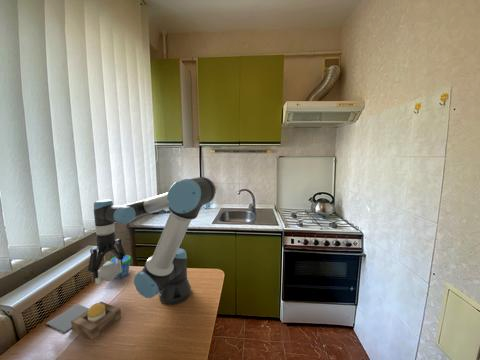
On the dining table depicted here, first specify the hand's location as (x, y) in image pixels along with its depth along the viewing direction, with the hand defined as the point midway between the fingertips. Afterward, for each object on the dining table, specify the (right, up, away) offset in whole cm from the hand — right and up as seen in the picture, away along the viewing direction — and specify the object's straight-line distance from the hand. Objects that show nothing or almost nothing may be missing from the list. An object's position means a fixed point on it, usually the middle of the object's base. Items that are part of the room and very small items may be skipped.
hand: (109, 277), depth 100 cm
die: (0, -1, 0) cm, 1 cm away
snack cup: (-6, -9, +20) cm, 23 cm away
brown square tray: (+4, -12, -14) cm, 19 cm away
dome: (+4, -11, -14) cm, 19 cm away
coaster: (-9, -12, -12) cm, 19 cm away
